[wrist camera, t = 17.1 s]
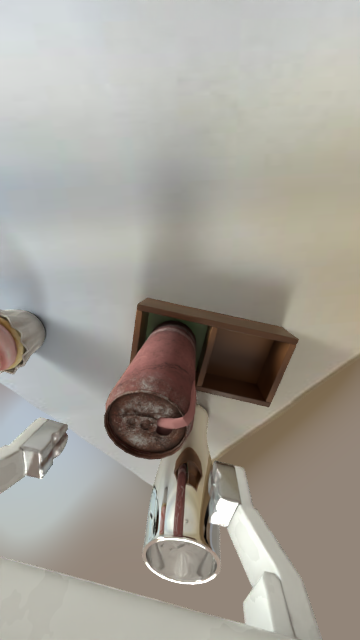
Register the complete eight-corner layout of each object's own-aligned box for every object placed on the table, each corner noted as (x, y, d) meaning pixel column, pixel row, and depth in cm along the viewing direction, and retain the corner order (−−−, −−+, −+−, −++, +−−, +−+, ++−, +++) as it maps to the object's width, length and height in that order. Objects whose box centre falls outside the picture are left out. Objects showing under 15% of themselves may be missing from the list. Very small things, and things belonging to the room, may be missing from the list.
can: (205, 349, 25) (214, 449, 11) (165, 366, 26) (131, 474, 13) (184, 310, 23) (166, 371, 10) (143, 331, 25) (79, 409, 11)
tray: (147, 297, 24) (137, 303, 20) (282, 327, 24) (299, 339, 20) (138, 358, 27) (128, 374, 23) (258, 386, 26) (269, 407, 22)
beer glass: (216, 405, 28) (235, 552, 14) (204, 438, 30) (209, 594, 16) (173, 393, 28) (147, 527, 14) (164, 427, 30) (133, 572, 16)
